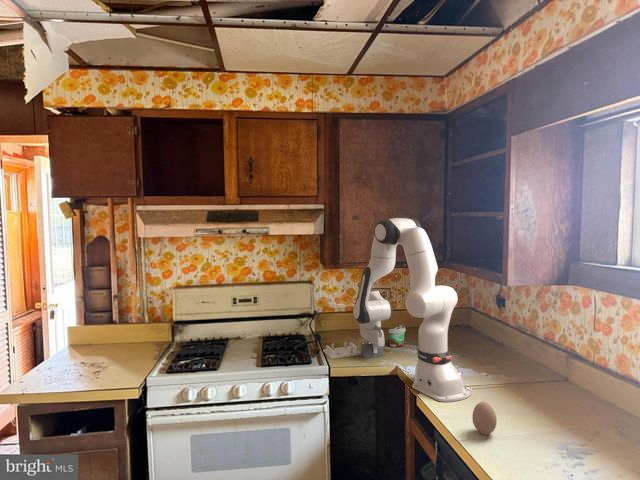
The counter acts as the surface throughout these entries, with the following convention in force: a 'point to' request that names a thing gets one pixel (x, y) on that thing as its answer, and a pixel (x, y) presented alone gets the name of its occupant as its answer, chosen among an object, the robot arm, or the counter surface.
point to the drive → (370, 351)
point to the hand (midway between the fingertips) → (372, 350)
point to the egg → (484, 418)
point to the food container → (397, 336)
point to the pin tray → (342, 351)
